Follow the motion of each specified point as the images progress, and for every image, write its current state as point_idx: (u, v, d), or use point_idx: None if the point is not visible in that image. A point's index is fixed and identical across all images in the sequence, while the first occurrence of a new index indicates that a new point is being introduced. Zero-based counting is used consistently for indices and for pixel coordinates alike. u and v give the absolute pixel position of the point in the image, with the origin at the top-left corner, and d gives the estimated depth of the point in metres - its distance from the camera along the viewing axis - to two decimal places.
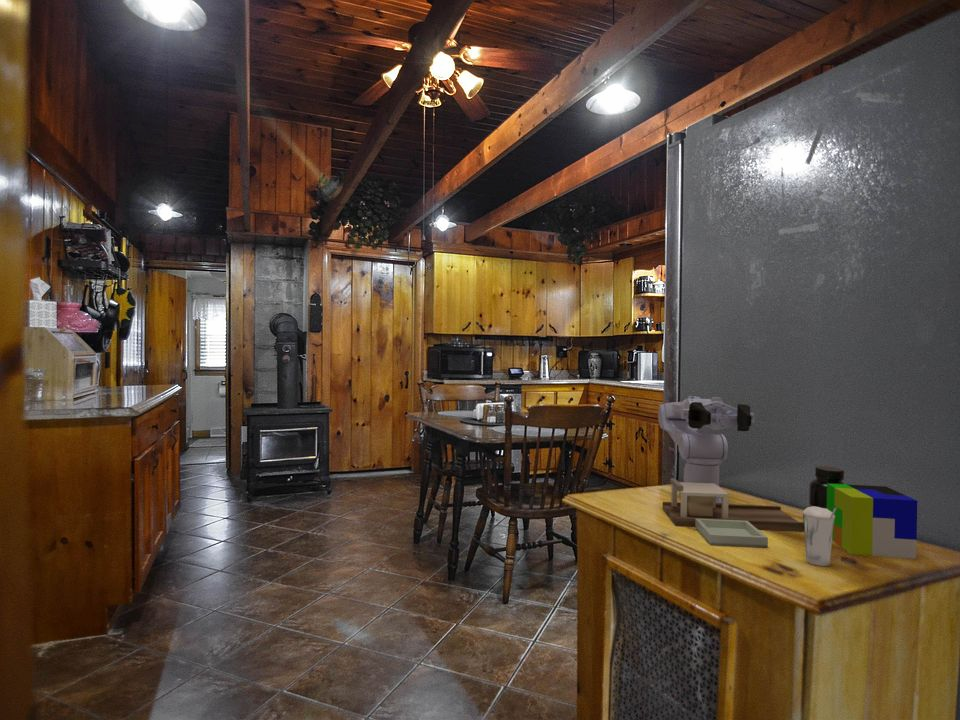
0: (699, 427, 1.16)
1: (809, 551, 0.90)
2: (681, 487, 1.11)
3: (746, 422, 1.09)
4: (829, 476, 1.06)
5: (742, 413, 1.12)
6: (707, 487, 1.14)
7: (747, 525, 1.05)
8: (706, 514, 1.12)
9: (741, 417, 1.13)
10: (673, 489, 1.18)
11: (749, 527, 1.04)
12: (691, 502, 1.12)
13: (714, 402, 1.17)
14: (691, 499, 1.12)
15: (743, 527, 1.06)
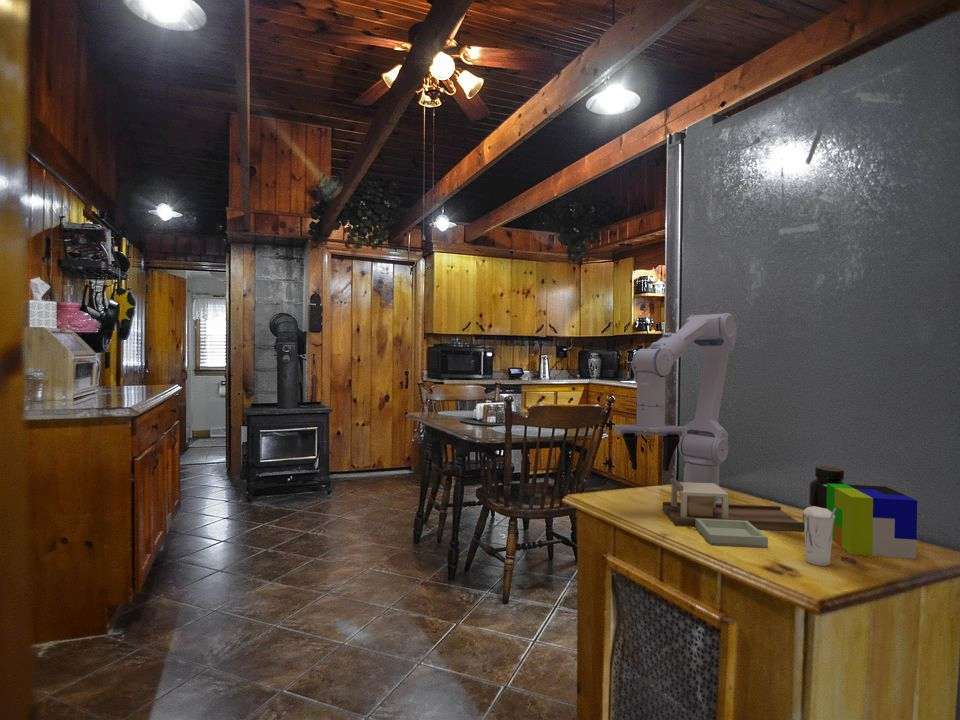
0: None
1: (809, 551, 0.90)
2: (681, 487, 1.11)
3: (663, 466, 1.15)
4: (829, 476, 1.06)
5: (666, 452, 1.14)
6: (707, 487, 1.14)
7: (747, 525, 1.05)
8: (706, 514, 1.12)
9: (665, 449, 1.14)
10: (673, 489, 1.18)
11: (749, 527, 1.04)
12: (691, 502, 1.12)
13: None
14: (691, 499, 1.12)
15: (743, 527, 1.06)
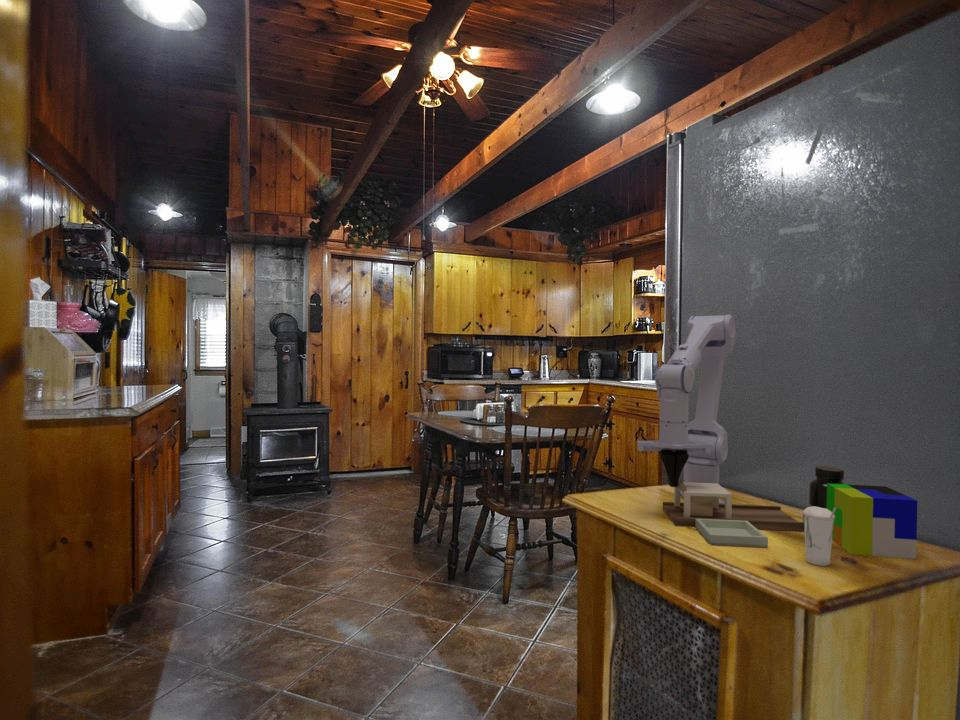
0: None
1: (809, 551, 0.90)
2: (684, 487, 1.11)
3: None
4: (829, 476, 1.06)
5: (675, 468, 1.13)
6: (710, 487, 1.14)
7: (747, 525, 1.05)
8: (706, 514, 1.12)
9: None
10: (676, 489, 1.18)
11: (749, 527, 1.04)
12: (691, 502, 1.12)
13: None
14: (691, 499, 1.12)
15: (743, 527, 1.06)
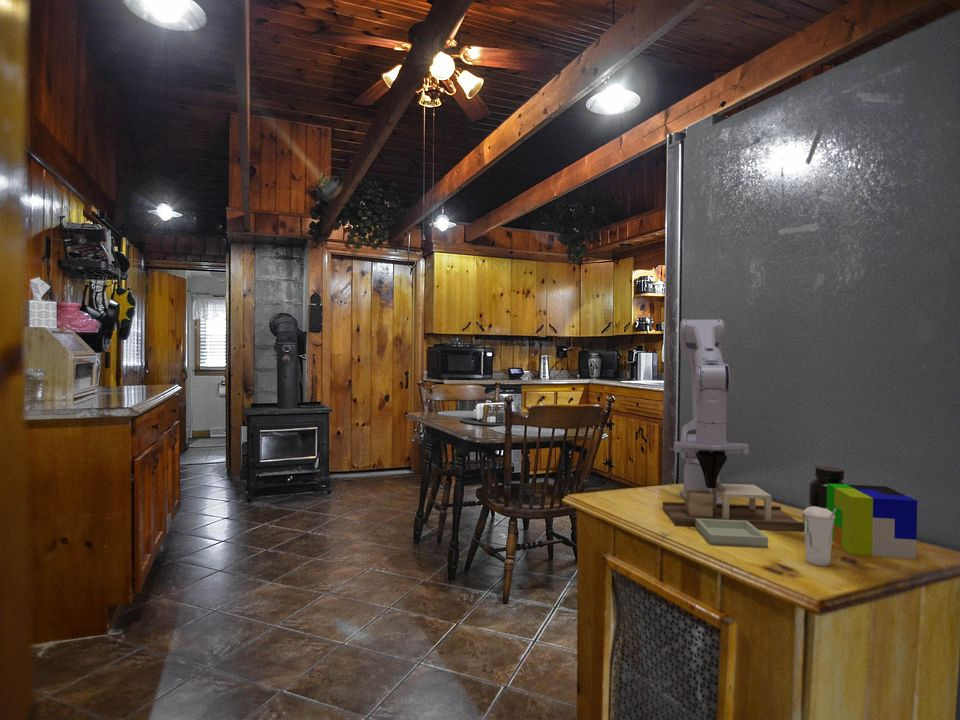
0: None
1: (809, 551, 0.90)
2: (723, 489, 1.10)
3: None
4: (829, 476, 1.06)
5: (712, 470, 1.13)
6: (748, 488, 1.13)
7: (747, 525, 1.05)
8: (706, 514, 1.12)
9: None
10: (712, 490, 1.17)
11: (749, 527, 1.04)
12: (691, 502, 1.12)
13: (711, 449, 1.11)
14: (691, 499, 1.12)
15: (743, 527, 1.06)
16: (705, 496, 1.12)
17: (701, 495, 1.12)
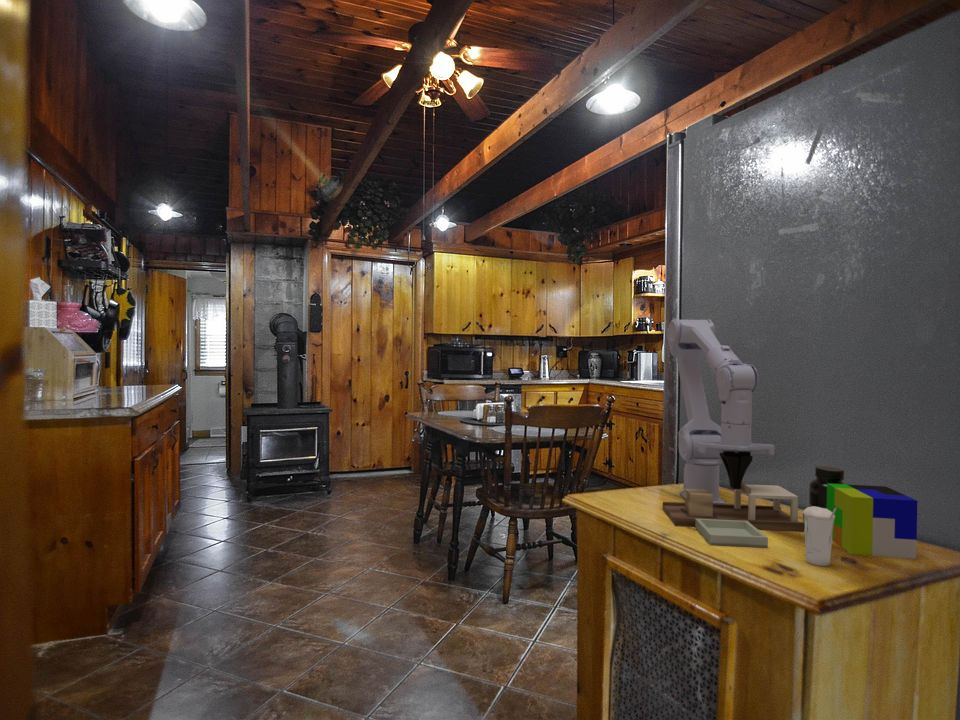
0: None
1: (809, 551, 0.90)
2: (749, 489, 1.10)
3: None
4: (829, 476, 1.06)
5: (738, 470, 1.12)
6: (773, 489, 1.13)
7: (747, 525, 1.05)
8: (706, 514, 1.12)
9: None
10: (737, 491, 1.17)
11: (749, 527, 1.04)
12: (691, 502, 1.12)
13: (737, 449, 1.10)
14: (691, 499, 1.12)
15: (743, 527, 1.06)
16: (705, 496, 1.12)
17: (701, 495, 1.12)
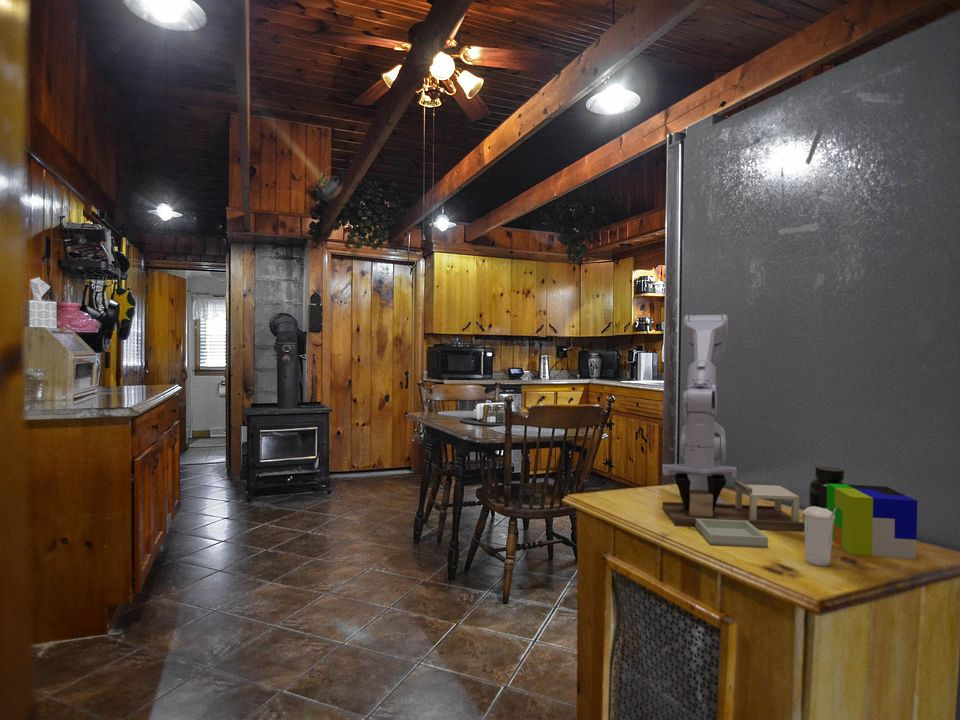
0: None
1: (809, 551, 0.90)
2: (750, 489, 1.10)
3: None
4: (829, 476, 1.06)
5: (712, 493, 1.13)
6: (774, 489, 1.13)
7: (747, 525, 1.05)
8: (706, 514, 1.12)
9: (710, 490, 1.14)
10: (738, 491, 1.17)
11: (749, 527, 1.04)
12: (691, 502, 1.12)
13: (699, 472, 1.11)
14: (691, 499, 1.12)
15: (743, 527, 1.06)
16: (705, 496, 1.12)
17: (701, 495, 1.12)
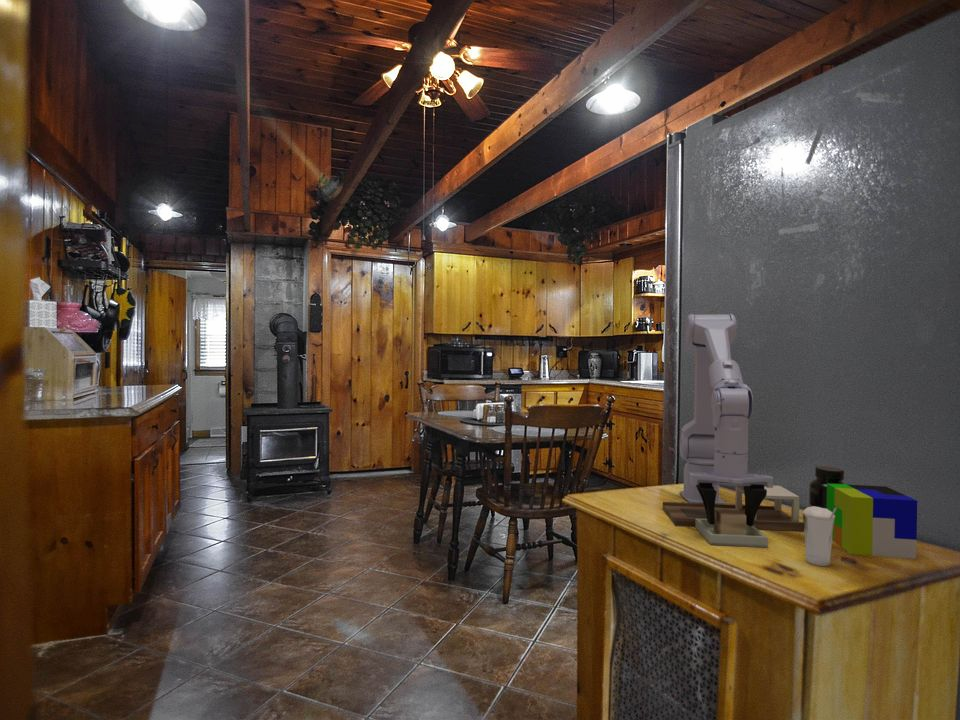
0: None
1: (809, 551, 0.90)
2: None
3: (746, 520, 1.02)
4: (829, 476, 1.06)
5: (750, 505, 1.01)
6: (774, 489, 1.13)
7: (747, 525, 1.05)
8: None
9: (749, 502, 1.02)
10: (738, 491, 1.17)
11: (749, 527, 1.04)
12: (722, 523, 1.01)
13: (732, 482, 1.00)
14: (722, 520, 1.01)
15: None
16: (737, 517, 1.00)
17: (733, 515, 1.00)
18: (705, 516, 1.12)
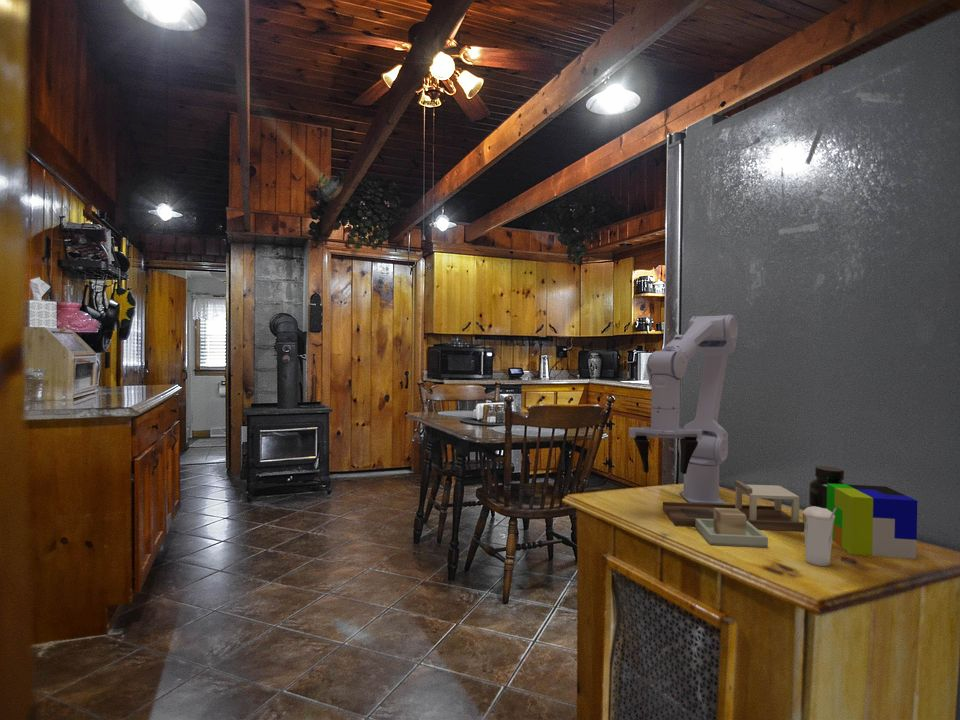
0: None
1: (809, 551, 0.90)
2: (750, 489, 1.10)
3: (681, 469, 1.15)
4: (829, 476, 1.06)
5: (684, 455, 1.13)
6: (774, 489, 1.13)
7: (747, 525, 1.05)
8: None
9: (683, 452, 1.14)
10: (738, 491, 1.17)
11: (749, 527, 1.04)
12: (722, 523, 1.01)
13: None
14: (722, 520, 1.01)
15: None
16: (737, 517, 1.00)
17: (733, 515, 1.00)
18: (705, 516, 1.12)
